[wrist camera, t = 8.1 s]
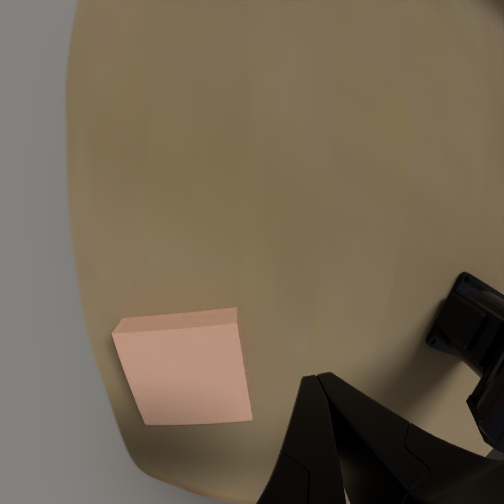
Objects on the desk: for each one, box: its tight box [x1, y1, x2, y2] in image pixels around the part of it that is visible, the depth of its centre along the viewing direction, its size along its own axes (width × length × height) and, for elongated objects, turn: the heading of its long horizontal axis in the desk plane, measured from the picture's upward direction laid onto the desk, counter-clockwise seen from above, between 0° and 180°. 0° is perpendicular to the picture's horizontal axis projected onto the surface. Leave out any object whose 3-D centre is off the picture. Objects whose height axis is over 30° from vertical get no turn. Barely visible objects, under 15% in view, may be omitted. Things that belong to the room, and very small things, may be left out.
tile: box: [112, 307, 253, 425], centre depth 21 cm, size 3×8×8 cm
